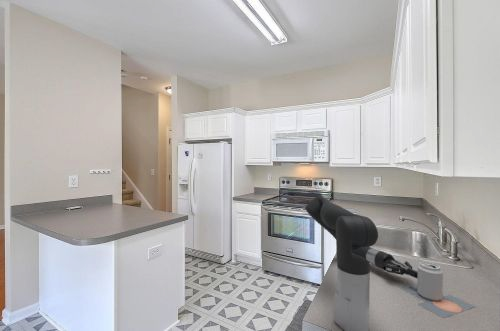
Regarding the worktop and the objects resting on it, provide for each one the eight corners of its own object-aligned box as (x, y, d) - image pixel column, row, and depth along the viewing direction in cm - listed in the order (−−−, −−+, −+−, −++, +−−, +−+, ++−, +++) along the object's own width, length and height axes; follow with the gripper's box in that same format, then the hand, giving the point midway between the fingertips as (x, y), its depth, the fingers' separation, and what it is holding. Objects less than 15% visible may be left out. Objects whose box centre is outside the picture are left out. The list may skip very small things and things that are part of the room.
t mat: (443, 319, 75) (443, 317, 75) (391, 290, 91) (391, 289, 91) (475, 307, 81) (475, 306, 81) (421, 282, 98) (421, 282, 98)
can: (447, 303, 83) (447, 269, 83) (424, 301, 84) (425, 268, 84) (433, 291, 90) (434, 261, 90) (413, 290, 91) (413, 259, 91)
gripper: (369, 252, 104) (407, 268, 88) (389, 249, 109) (429, 263, 93) (368, 269, 104) (407, 288, 88) (389, 265, 109) (429, 282, 93)
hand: (418, 275), depth 90 cm, fingers closed
